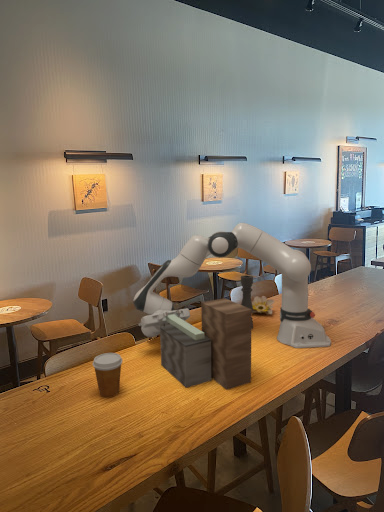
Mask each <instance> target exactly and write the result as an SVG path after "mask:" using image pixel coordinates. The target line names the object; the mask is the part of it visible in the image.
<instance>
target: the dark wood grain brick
mask: <svg viewBox="0 0 384 512" xmlns="http://www.w3.org/2000/svg"><path fill="white" fill-rule="evenodd" d="M159 335H160V336H159V337H160V338H159V339H160V364H161V366H162V367H163V368H164V369H165V370H166V371H167V372H168V373H169V374H171V376H173V377H174V378H175V380H177V381H178V382H179V383H180V384H181V385H182V386H183V387H184V388H191V387H195V386H197V385H201V384H204V383H207V382H211V381H212V378H211V339H209V338H208V337H206V336H204V337H205V338H204V339H199V340H194V339H193V338H191V337H190V336H188V335H187V334H185V333H184V332H182V331H181V330H179V329H178V328H176V327H175V326H173V325H169V326H164V327H160V334H159Z"/></svg>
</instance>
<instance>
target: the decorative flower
mask: <svg viewBox="0 0 384 512" xmlns="http://www.w3.org/2000/svg"><path fill="white" fill-rule="evenodd" d="M251 301H252V306H253V311H252V314H255V313H258V314H263V313H264V314H265V315H267V316H270V315H273V311H274V310H273V308H274V306H273V304H274V303H275V302H276V300H274V299H272V298H271V299H270V298H269V299H267V297H266V296H264V295H262V296H258V295H257V296H254V297H253V300H251Z"/></svg>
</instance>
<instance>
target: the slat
mask: <svg viewBox="0 0 384 512" xmlns="http://www.w3.org/2000/svg"><path fill="white" fill-rule="evenodd" d="M166 321H167V322H168V323H170V324H172V325H173V326H175V327H176V328H178V329H179V330H181V331H182V332H184V333H185V334H187V335H188V336H190V337H191V338H193V339H194V340H199V339H204V338H205V337H204V332H202V329H199V328H197V327H196V326H193V325H192V324H191V323H189V322H188V321H187V320H185V321H184V320H182V319H181V318H179V317H177V316H176V315H174V314H172V315H168V317H166Z"/></svg>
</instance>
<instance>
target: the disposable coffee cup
mask: <svg viewBox="0 0 384 512" xmlns="http://www.w3.org/2000/svg"><path fill="white" fill-rule="evenodd" d="M122 364H123V358H122V356H121V355H120V354H118V353H116V352H106V353H101V354H99V355H96V356H95V357H94V358H93V362H92V366H93V368H94V372H95V373H94V374H95V377H96V382H97V386H98V387H97V388H98V392H99V396H100V397H103V398H113V397H115V396H117V395H118V394H119V392H120V381H121V372H122V371H121V370H122Z"/></svg>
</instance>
